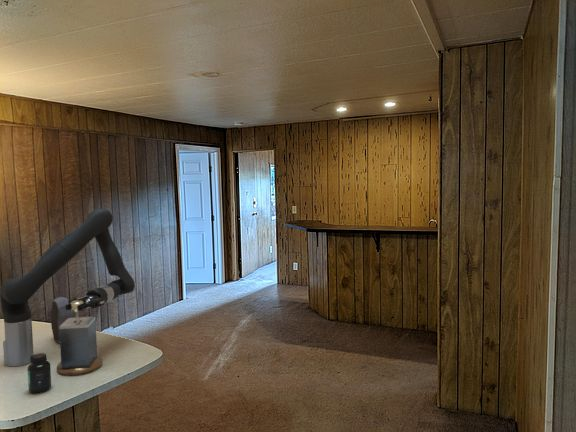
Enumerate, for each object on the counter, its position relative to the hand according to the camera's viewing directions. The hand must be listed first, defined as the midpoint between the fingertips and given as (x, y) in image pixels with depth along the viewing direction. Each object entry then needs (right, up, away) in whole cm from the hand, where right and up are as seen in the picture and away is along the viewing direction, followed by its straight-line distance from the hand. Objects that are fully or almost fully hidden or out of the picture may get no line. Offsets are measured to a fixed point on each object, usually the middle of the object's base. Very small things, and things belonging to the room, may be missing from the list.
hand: (72, 308), depth 165 cm
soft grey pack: (-19, -22, +33) cm, 44 cm away
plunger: (+1, -21, +4) cm, 21 cm away
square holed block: (+1, -24, +5) cm, 24 cm away
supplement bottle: (-5, -25, -13) cm, 29 cm away
